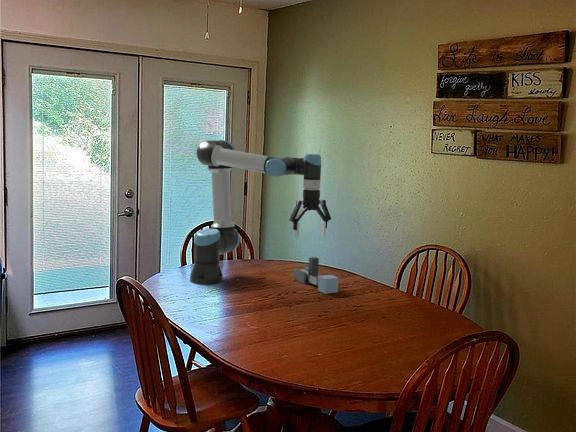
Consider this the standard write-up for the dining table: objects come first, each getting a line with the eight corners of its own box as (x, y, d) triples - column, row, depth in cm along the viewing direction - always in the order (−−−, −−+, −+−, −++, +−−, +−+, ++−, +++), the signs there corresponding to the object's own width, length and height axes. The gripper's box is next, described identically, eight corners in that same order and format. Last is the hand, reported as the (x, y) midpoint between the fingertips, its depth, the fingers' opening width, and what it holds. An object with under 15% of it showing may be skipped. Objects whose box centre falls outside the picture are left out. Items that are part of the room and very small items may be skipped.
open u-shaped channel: (294, 279, 283) (294, 268, 282) (305, 278, 286) (306, 267, 285) (303, 283, 275) (304, 272, 274) (315, 282, 278) (316, 271, 278)
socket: (318, 290, 265) (318, 276, 264) (330, 288, 268) (330, 274, 267) (325, 293, 260) (326, 279, 259) (337, 292, 263) (338, 277, 262)
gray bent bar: (297, 276, 283) (298, 253, 281) (303, 276, 285) (304, 252, 283) (316, 285, 269) (317, 260, 267) (322, 284, 271) (323, 260, 269)
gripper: (290, 190, 252) (289, 239, 255) (340, 189, 263) (338, 236, 266) (282, 188, 258) (281, 236, 261) (331, 187, 270) (329, 233, 273)
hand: (309, 236), depth 264 cm, fingers open, 13 cm apart
